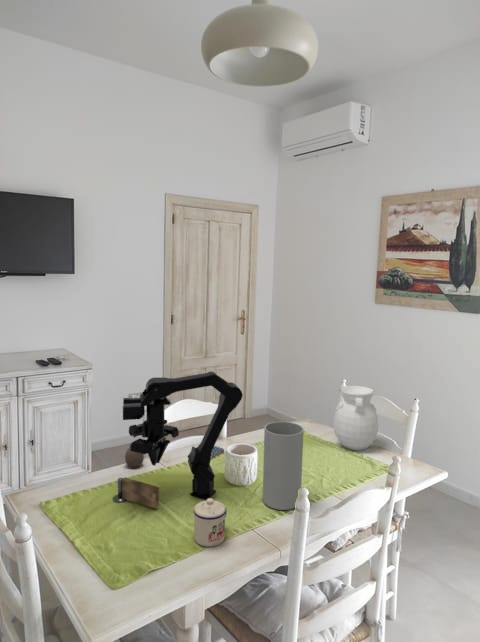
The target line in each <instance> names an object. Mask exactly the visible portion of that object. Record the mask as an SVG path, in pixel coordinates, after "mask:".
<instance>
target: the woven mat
mask: <svg viewBox="0 0 480 642" xmlns="http://www.w3.org/2000/svg"><path fill="white" fill-rule="evenodd" d="M224 453H225V449H224V448H223V447H220V446H217V445H214V447H213V450H212V452H211V460H213V459H215V458H216V457H218V456H219V455H222V454H224Z"/></svg>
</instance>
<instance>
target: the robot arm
mask: <svg viewBox="0 0 480 642" xmlns="http://www.w3.org/2000/svg"><path fill="white" fill-rule="evenodd" d="M210 386H211V387H213V388H214V389H215V390H217V392H219V397H218V402H217V403H218V406H217V408H216V410H215V412H214V414H213V416H212V419H211V420H210V423H209V425H208V427H207V429H206V431H205V432H204V435H203V437H202V439H201V442H200V443H199V444H198V446H197V447H195V446H194V445H193V446H192V447H191V450H190V451H189V453H188V455H187V459H188V460H187V463H188V466H189V469H190V471H191V474H192V475H193V476H192V477H193V479H192V485H191V488H192V489H191V490H192V492H191V493H190V496H192V497H194V498H195V497H196V498H200V499H203V500H207V499H209V498H211V497H212V496H213V495H214V494H215V493H216V492H217V489H215V477H216V475H215V473H214V471H213V469H212V467H211V460H212V459H211V452H212V450H213V447H214V446H216V443H217V441H218V438H219V437H220V434H221V433H222V431H223V428H224V426H225V424H226V421H228V420H227V419H228V418H229V416H230V414H231V413H232V412H233V411H234V410H235V409H236V408H237V407H238V405H239V404H240V402H241V401H242V398H243V391H242V390H241V388H240V387H239V386H238V385H237V384H236V383H234V382H228V381H226V380H225V379H224V378H222V377H220V376H219V375H218V374H217V373H216V372H215V371H208V372H205V373H197V374H193V375H187V376H181V377H175V378H174V377H173V378H170V377H169V378H168V377H151V378H150V379H148V381H147V382H146V384H145V389H143V391H142V392H141V394H140V395H139V397H131V398H130V397H123V399H122V400H123V402H122V405H123V406H122V421H130V420H141V419H143V417H145V414H146V419H145V420H144V421H143V422H142V423H139V424H132V425H129V427H128V434H129V436H131V437H133V438H136V437H139V436H141V437H142V438H138V439H136V440H133V441H132V442H130V444H129V445H130V446H129V447H130V451H133V452H137V453H141V454H144V455H148V458H149V461H150V463H151V465H152V466H156V465H157V464H160V462H161V459H162V457H163V455H164V453H165V452H166V449H167V448H168V445H169V444H170V443H171V440H168V439H167V437H168V436H169V435H171V437H172V438H174V439H175V438H176V437H179V436H180V435H179V434H180V433H179V431H180V430H179V428H178V427H177V426H172V425H169V424H168V419H165V406H166V405H167V406H169V405H171V404H172V403H171V400H170V399H169V398H168V397H170V395H172V394H174V393H178V392H182V391H183V392H184V391H189V390H194V389H198V388H199V389H200V388H205V387H210ZM145 408H146V409H145ZM145 410H146V413H145ZM146 438H147V439H146Z"/></svg>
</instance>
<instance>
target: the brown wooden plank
mask: <svg viewBox="0 0 480 642" xmlns="http://www.w3.org/2000/svg"><path fill="white" fill-rule="evenodd" d="M122 478H123V479H122V498H123V499H127V501H131V502H133V503H137V504H140V505H143V506H146V507H149V508H153V509H157V508H159V507H160V506H159V505H160V503H159V502H160V501H159V500H160V496H159V495H160V492H159V491H160V486H157V485H154V484H153V485H152V484H149V483H146V482H142V481H139V480H135V479H131V478H129V477H122Z"/></svg>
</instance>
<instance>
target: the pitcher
mask: <svg viewBox="0 0 480 642" xmlns="http://www.w3.org/2000/svg"><path fill="white" fill-rule="evenodd" d="M340 393H341V396H342V399H341V401H340V402H339V403H338V404H337V406H336V407H335V413H334V417H333V418H334V419H333V432H334V434H335V436H336V438H337V439H338V441H339V443H341V444H342V445H343V446H344V447H345V448H346V449H347V450H352V451H364V450H367V448H368V447H369V446H371V445H372V444H373V442H374V441H375V439H376V437H377V435H378V429H379V421H378V414H377V408H376V407H375V405H374V404H373V403H371V402H370V401H371V400H372V398H373V395H374V390H373V389H372V388H369V387H366V386H362V385H361V386H360V385H345V386H342V387H341V388H340Z"/></svg>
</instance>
